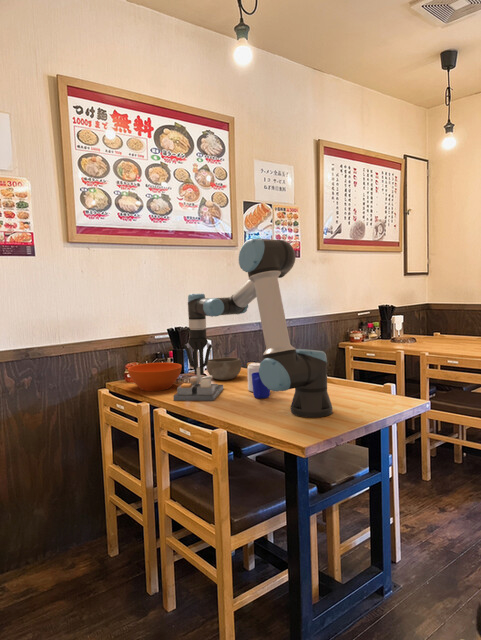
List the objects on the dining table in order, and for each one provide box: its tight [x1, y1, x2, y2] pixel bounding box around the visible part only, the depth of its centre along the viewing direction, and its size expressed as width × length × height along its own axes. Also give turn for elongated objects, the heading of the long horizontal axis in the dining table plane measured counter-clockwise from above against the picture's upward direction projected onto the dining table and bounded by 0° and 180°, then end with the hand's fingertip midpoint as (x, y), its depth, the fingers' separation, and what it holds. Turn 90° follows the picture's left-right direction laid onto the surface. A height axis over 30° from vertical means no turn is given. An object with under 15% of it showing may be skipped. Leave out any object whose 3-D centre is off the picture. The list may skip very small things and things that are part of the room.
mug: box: [252, 372, 271, 400], centre depth 191 cm, size 8×12×10 cm
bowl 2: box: [206, 356, 242, 381], centre depth 235 cm, size 17×18×10 cm
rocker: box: [202, 375, 213, 380], centre depth 209 cm, size 3×8×1 cm, turn 81°
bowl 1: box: [127, 362, 183, 392], centre depth 218 cm, size 25×25×10 cm
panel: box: [172, 383, 224, 402], centre depth 201 cm, size 22×17×5 cm
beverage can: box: [247, 362, 261, 393], centre depth 205 cm, size 8×8×12 cm
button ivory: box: [199, 378, 212, 388], centre depth 194 cm, size 4×4×4 cm
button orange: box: [180, 382, 192, 388], centre depth 195 cm, size 4×4×4 cm
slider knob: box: [189, 376, 200, 387], centre depth 203 cm, size 4×3×5 cm
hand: (199, 381), depth 203 cm, fingers closed
